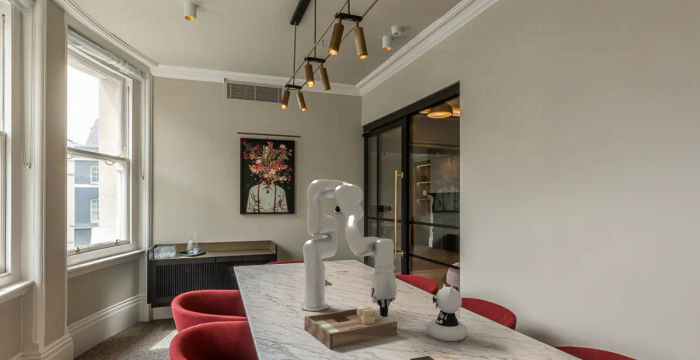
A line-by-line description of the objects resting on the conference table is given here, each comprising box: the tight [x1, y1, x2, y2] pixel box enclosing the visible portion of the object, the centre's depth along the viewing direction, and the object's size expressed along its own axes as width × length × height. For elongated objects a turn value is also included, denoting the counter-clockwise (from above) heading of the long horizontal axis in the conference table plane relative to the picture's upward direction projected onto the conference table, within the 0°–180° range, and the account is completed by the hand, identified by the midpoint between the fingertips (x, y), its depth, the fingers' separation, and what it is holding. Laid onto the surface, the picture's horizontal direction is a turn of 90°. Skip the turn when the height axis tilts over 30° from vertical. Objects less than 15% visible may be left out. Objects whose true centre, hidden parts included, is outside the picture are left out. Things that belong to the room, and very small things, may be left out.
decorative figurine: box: [426, 282, 468, 342], centre depth 144 cm, size 15×15×20 cm
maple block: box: [356, 306, 376, 324], centre depth 150 cm, size 5×5×5 cm
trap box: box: [303, 308, 398, 350], centre depth 146 cm, size 22×28×5 cm
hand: (383, 316), depth 154 cm, fingers closed
